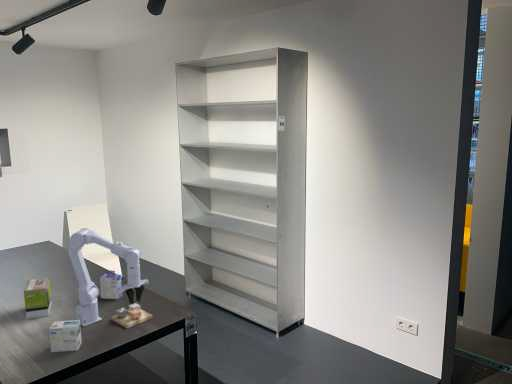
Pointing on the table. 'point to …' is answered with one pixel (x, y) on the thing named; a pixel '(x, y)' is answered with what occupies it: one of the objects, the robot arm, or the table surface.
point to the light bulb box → (65, 336)
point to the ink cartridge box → (110, 285)
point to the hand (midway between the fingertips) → (134, 302)
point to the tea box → (37, 298)
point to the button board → (131, 319)
